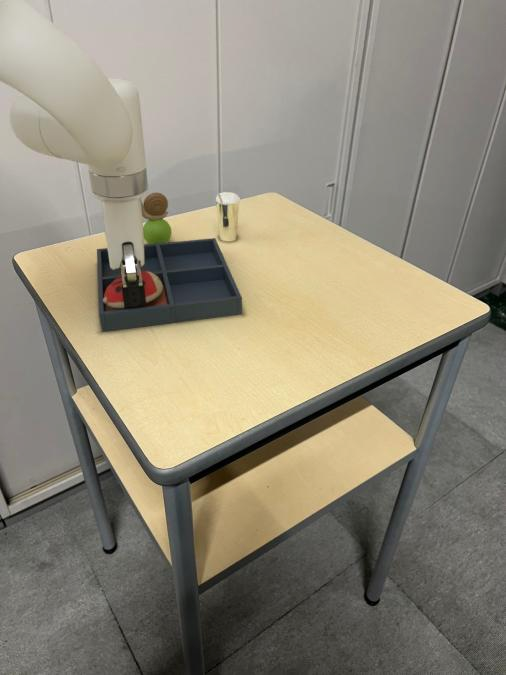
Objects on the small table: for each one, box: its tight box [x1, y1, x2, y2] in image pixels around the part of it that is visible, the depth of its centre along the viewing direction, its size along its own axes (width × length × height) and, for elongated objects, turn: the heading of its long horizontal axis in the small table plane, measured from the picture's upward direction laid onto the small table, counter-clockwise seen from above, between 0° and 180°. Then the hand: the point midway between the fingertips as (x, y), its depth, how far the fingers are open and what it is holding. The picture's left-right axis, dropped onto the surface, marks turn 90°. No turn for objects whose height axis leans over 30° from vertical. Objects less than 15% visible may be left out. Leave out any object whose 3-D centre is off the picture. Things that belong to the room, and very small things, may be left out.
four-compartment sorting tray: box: [96, 237, 243, 333], centre depth 86 cm, size 21×21×3 cm
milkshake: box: [215, 191, 241, 243], centre depth 99 cm, size 4×5×10 cm
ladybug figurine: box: [103, 271, 163, 309], centre depth 80 cm, size 7×10×4 cm
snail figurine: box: [140, 192, 173, 244], centre depth 96 cm, size 5×6×12 cm
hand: (133, 292), depth 80 cm, fingers closed on ladybug figurine, 7 cm apart
